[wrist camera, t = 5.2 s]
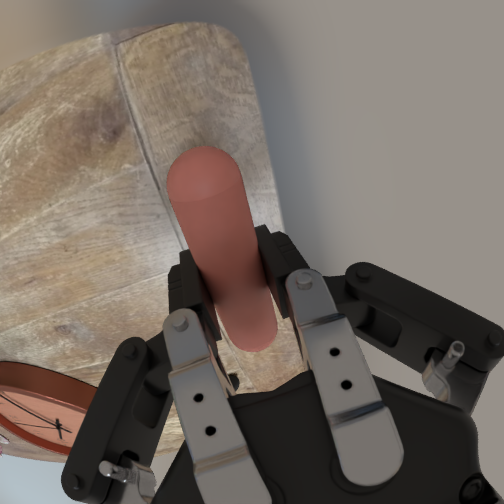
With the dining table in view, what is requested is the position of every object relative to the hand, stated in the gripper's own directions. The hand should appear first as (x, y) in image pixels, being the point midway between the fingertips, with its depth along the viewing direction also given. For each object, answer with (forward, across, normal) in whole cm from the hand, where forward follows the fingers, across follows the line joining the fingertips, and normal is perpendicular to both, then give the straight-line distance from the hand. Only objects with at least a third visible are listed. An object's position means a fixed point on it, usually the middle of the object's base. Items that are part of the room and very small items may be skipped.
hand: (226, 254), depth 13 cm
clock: (+8, +37, +26) cm, 46 cm away
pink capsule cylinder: (0, 0, 0) cm, 0 cm away
